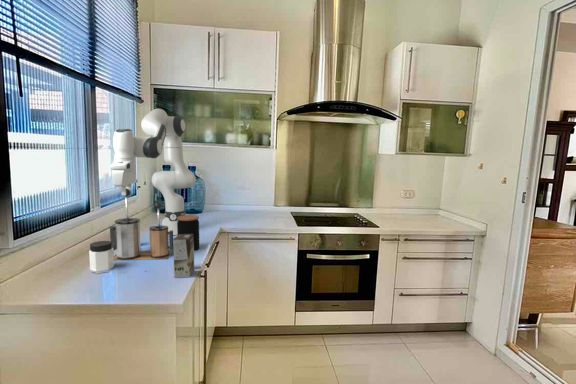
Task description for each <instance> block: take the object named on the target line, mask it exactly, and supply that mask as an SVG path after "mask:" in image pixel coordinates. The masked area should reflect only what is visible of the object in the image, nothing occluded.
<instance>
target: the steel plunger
mask: <svg viewBox="0 0 576 384" xmlns="http://www.w3.org/2000/svg"><path fill="white" fill-rule="evenodd" d="M126 191H127V195H122V196H123V197H124V198H125V201H124V202H125V218H126V221H128V218H129V203H128V202H129V201H128V200H129V199H128V197H129V196H130V195H131V191H132V190H131V191H130V190H129V189H126Z"/></svg>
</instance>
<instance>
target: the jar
mask: <svg viewBox="0 0 576 384" xmlns="http://www.w3.org/2000/svg"><path fill="white" fill-rule="evenodd" d="M114 251H115V250H113V248H112V242H111V241H110V240H100V241H94V242H92V243H90V244H89V250H88V254H89V257H88V258H89V271H93V272H91V273H92V274H94V275H101V274H107V273H109V270H111V269H112V268H114V267H115V261H114V256H115V254H114Z"/></svg>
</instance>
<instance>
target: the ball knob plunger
mask: <svg viewBox="0 0 576 384" xmlns="http://www.w3.org/2000/svg"><path fill="white" fill-rule="evenodd" d="M162 206H163V204H162V202H160V201H156V202H155V203H154V208H156V210H157V226H158V228H160V226H161V224H160V222H161V221H160V218H161V217H160V209H161V208H162Z"/></svg>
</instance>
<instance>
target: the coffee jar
mask: <svg viewBox="0 0 576 384" xmlns="http://www.w3.org/2000/svg"><path fill="white" fill-rule="evenodd" d="M177 219H178V222H177V234H178V235H179V234H194V252H196V251H198V250H199V249H200V221H199V219H200V216H199V215H197V214H185V215H182V216H178V217H177ZM178 235H177V236H178Z"/></svg>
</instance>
